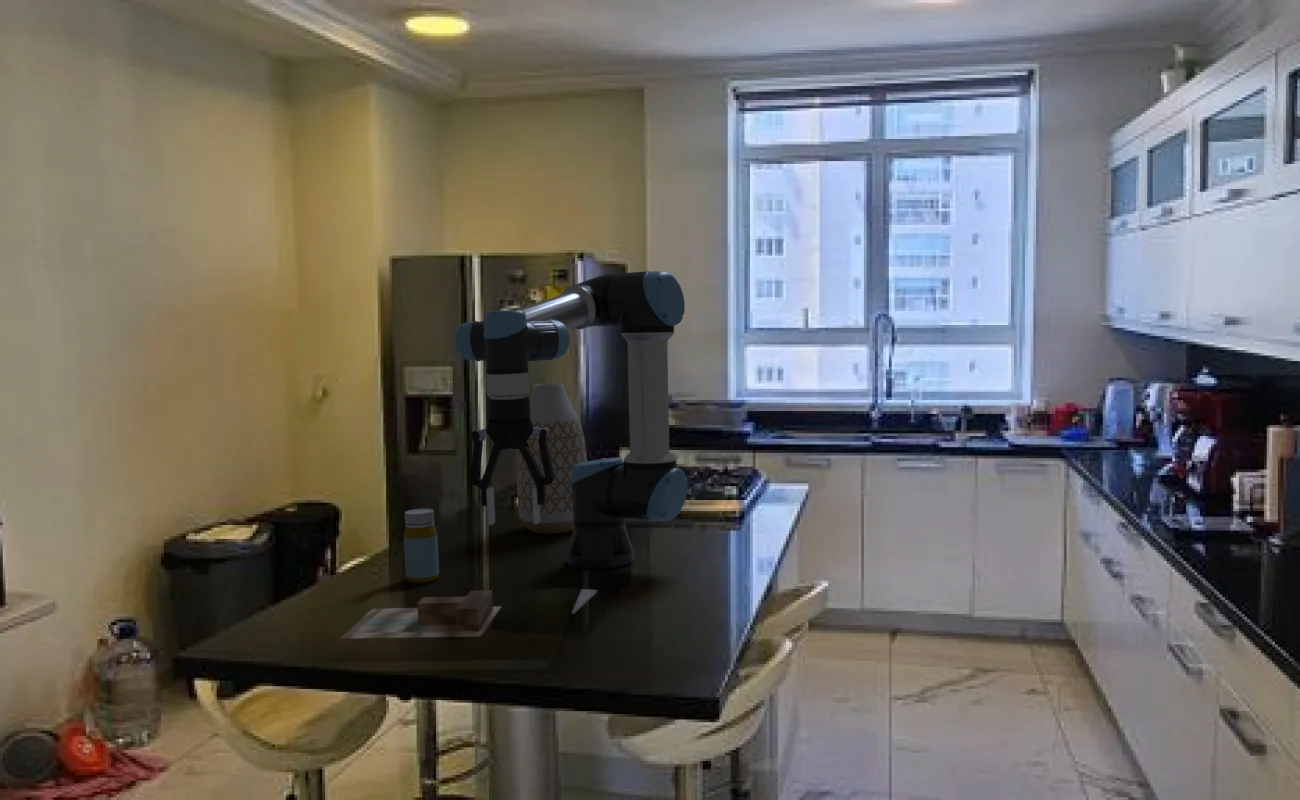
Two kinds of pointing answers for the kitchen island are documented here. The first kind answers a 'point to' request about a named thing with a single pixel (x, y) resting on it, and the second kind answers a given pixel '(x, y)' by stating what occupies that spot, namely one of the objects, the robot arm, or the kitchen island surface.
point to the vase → (565, 453)
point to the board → (406, 625)
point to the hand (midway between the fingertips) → (514, 522)
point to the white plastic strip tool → (583, 599)
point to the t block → (457, 610)
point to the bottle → (421, 546)
